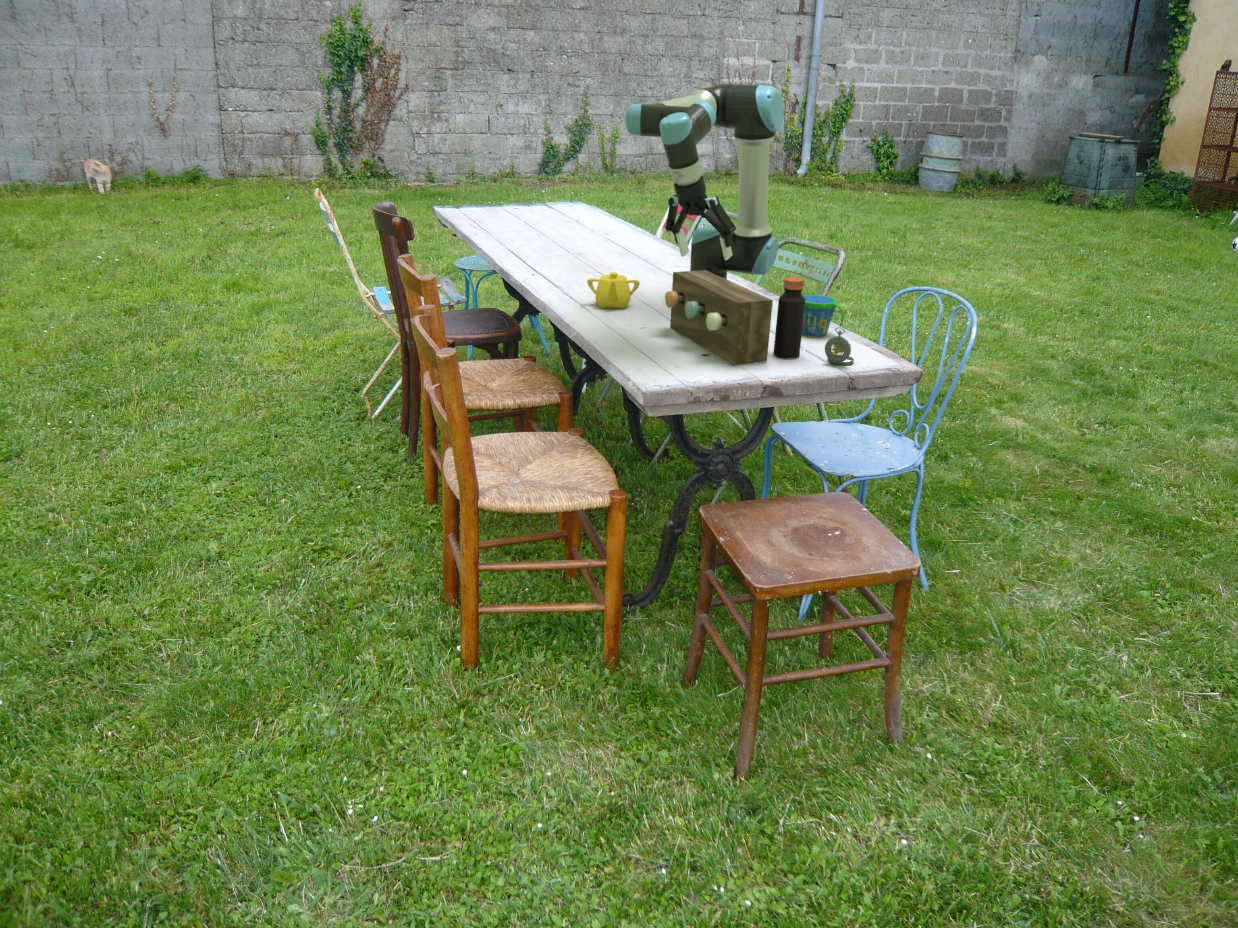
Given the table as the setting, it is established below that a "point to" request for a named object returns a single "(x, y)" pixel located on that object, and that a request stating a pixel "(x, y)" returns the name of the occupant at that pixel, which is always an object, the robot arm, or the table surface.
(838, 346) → the pocket watch
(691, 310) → the teal button
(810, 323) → the snack cup
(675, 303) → the terracotta button
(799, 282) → the bottle
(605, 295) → the yellow handled pot
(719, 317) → the cream button
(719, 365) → the table surface
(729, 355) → the console
